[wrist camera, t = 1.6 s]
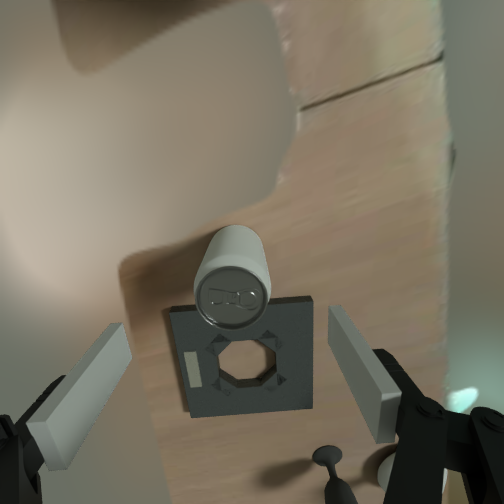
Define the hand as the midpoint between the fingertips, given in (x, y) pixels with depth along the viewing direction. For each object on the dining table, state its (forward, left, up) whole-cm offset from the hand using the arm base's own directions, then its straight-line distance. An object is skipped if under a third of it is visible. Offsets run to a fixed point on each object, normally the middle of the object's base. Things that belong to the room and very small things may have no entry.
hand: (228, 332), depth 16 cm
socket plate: (+16, 0, -16) cm, 22 cm away
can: (0, 0, -16) cm, 16 cm away
